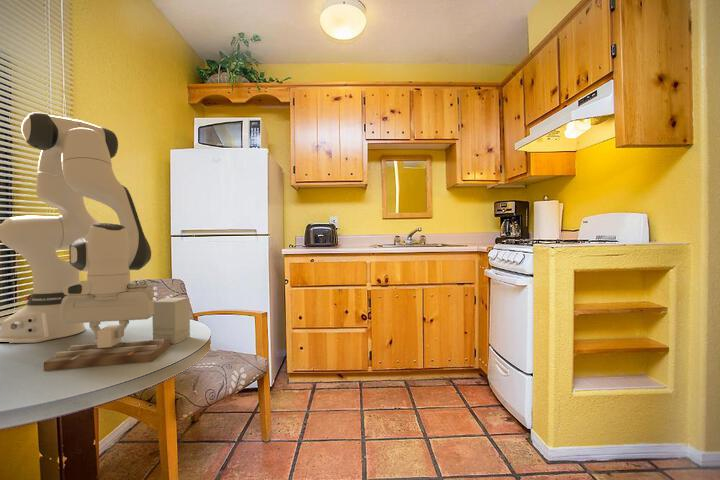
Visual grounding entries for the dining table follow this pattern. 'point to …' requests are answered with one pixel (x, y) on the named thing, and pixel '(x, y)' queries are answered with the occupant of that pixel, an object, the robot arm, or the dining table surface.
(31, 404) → the dining table surface
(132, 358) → the brown striped wooden board
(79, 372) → the dining table surface
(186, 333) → the supplement box
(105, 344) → the beige cube
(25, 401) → the dining table surface
